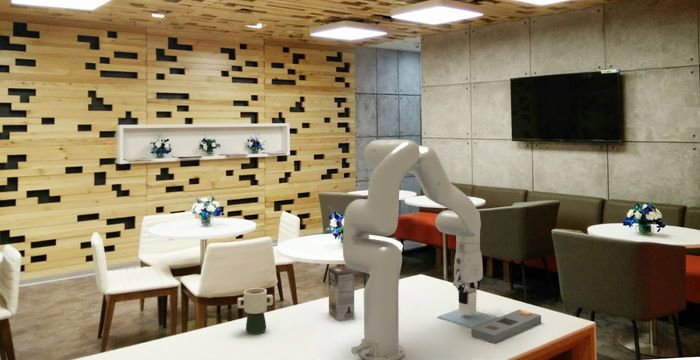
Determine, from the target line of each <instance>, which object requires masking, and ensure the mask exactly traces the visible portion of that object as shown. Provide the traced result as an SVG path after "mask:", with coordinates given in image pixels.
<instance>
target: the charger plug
mask: <svg viewBox="0 0 700 360" xmlns="http://www.w3.org/2000/svg"><path fill="white" fill-rule="evenodd" d="M477 290H478V288H477V289H474V288H470V287H469V286H467V290H466V292H468V303H467V304H462V303H459V302H458V309H459V313H462V314H465V315H472V314H474V313H476V311H477Z"/></svg>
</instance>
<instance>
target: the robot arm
mask: <svg viewBox="0 0 700 360" xmlns="http://www.w3.org/2000/svg"><path fill="white" fill-rule="evenodd" d="M363 155H364V156H363V157H364V160H365V163H366V164H367V165H368V166H369V167H370V168H371V169H374V170H373V171H372V173H371V175H370V179H369V181H368V190H367V199H366V198H365V199H364V198H358V199H355V200H353V201H351V202H350V203H349V204H348V206H347V208H346V211H345V213H344V215H343V216H344V218H343V232H342V233H343V236H342V237H343V238H342V241H343V243H342V257H343V261H344V263H345V266H346V267H348V268H349V269H351V270H352V271H358V272H361V273H365V274H369V278H368V280H367V281H366V282H365V283H366V284H365V286H364V289H363V336H364V337H363V338H361V343H360V344H359V345H357V346H353V347H352V348H351V349H350V350H351V354H352V355H354V356H355V355H359V357H361V359H364V360H400V359H402V358H403V357H404V356H405V349H404V347H403V346H402V345H400V344H399V342H400V340H399V337H400V335H399V332H400V331H399V327H400V326H399V322H400V321H399V285H400V284H399V283H400V275H401V270H402V269H401V268H402V263H403V254H402V251H401V250H400V248H399V247H398V246H397V245H396V244H394V243H392V242H391V241H386V240H381V239H377V238H376V239H375V238H370V235H373V236H378V237H379V236H381V237H388V236H392V235H393V234H394V233H395V232H396V230H397V228H398V225H399V209H400V207H399V206H400V205H399V204H400V203H399V202H400V188H401V184H402V181H403V179H404V178H405V176H406V175H407V174H413V175H414V177H415V178H416V180H417V182H418V184H419V186H420V188H421V190H422V192H423V194H424V196H425V197H426V199H428V200H430V201H431V202H434V203H436V204H438V205H440V206H442V207H445V208H446V209H447V210H443V211H441V212H440V213H438V214H437V216H436V218H435V222H434V223H435V227H436V229H437V230H438V231H439V232H440V233H443V234H445V235H452V236H456V238H455V239H456V241H455V243H456V244H455V245H456V247H455V256H454V266H453V279H454V280H453V283H452V285H453V286H455V288H456V289H457V290H456V291H458V304H459V303H462V304H467V303H468V292H466V290H467V287H470V288H474V289H477V290H478V285H479V283H480V281H481V280H483V278H484V277H483V276H484V273H483V272H484V271H483V270H484V269H483V268H484V267H483V255H482V252H481V249H480V248H481V245H480V243H481V240H480V239H481V228H482V226H481V225H482V221H481V214H480V211H479V210H478V209H477V207H476V205H475V203H474V202H473V201H472V199H471V198H470V197H469V196H468V195H467V194H465V193H464V192H462V190H461V189H460V188H458V187H457V186H455V185H454V184H452V183H451V182H450V181H451V180H450V179H449V177H448V175H447V173H446V171H445V169H444V167H443V165H442V163H441V161H440V158H439V156H438V154H437V152H436V151H435V149H434V148H432V147H431V146H428V145H419V144H418V143H417V142H416V141H413V140H410V139H400V138H399V139H398V138H397V139H394V138H393V139H373V141H370V142H369V143H368V144H367V145H366V146H365V149H364V154H363Z"/></svg>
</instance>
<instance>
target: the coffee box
mask: <svg viewBox="0 0 700 360" xmlns="http://www.w3.org/2000/svg"><path fill="white" fill-rule="evenodd" d="M328 313H329V315H331V316H332V317H333V318H334V319H335V320H336V321H337V322H341V321H342V322H343V321H347V320H348V321H349V320H355V270H353V269H351V268H349V267H348V266H347V265H340V266H331V267H328Z"/></svg>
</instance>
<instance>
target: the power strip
mask: <svg viewBox="0 0 700 360" xmlns="http://www.w3.org/2000/svg"><path fill="white" fill-rule="evenodd" d="M541 323H542V314H538V313H534V312H530V311H527V310H521V309H516V310H514V311H512V312H510V313H506V314H505V315H502V316H500V317H499V316H498V318H496V319H494V320H491V321H489V322H486V323H484V324H481V325H479V326H476V327H474V328H470V329H471V330H470V331H471V332H470V333H471V337H472V338H475V339H477V340H478V339H479V340H482V341H484V342H488V343H491V344H494V345H495V344H497V343H499V342H502V341H504V340H505V339H509V338H511V337H513V336H515V335H517V334H519V333H522V332H523V331H526V330H529V329H530V328H532V327H535V326H538V325H539V324H541ZM510 336H511V337H510Z"/></svg>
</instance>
